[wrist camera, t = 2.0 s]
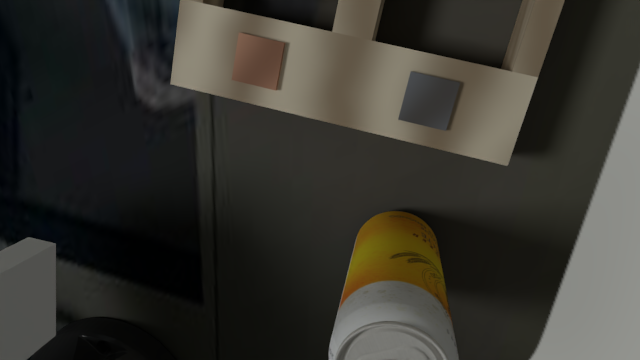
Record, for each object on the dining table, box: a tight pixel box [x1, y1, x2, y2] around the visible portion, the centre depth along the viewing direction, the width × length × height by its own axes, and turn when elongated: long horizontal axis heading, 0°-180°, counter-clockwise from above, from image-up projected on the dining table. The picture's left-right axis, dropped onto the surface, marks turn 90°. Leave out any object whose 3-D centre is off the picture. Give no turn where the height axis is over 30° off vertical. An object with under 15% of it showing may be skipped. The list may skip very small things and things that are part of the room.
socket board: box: [171, 0, 565, 166], centre depth 29 cm, size 22×16×4 cm
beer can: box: [329, 211, 459, 360], centre depth 28 cm, size 6×6×15 cm
